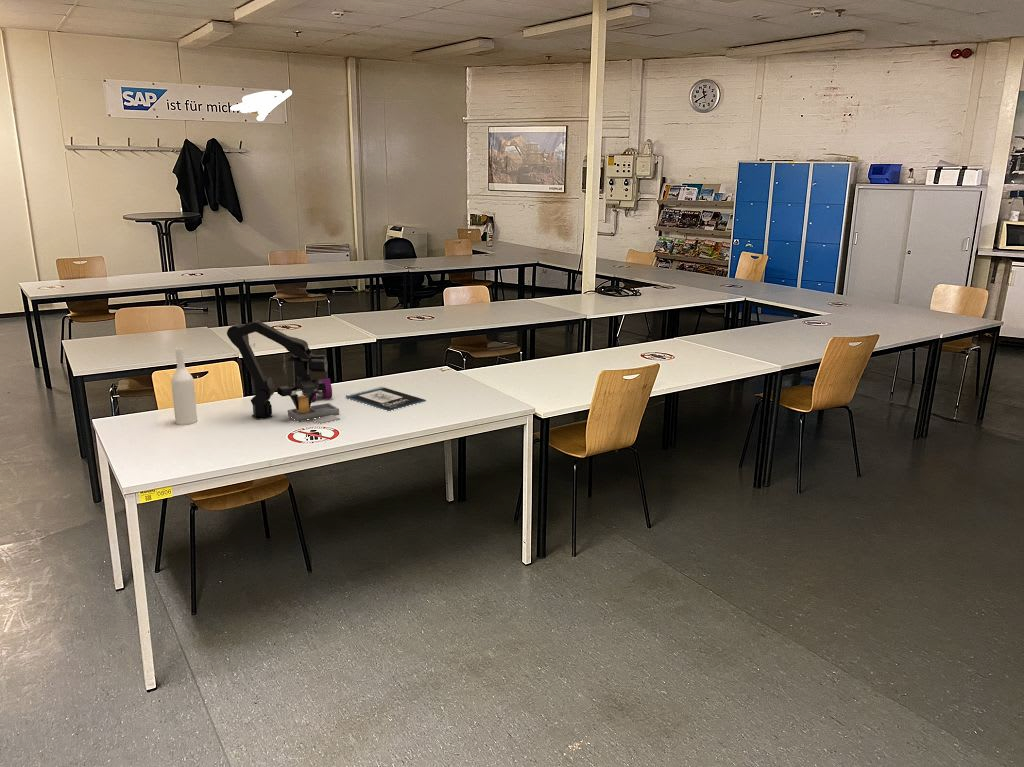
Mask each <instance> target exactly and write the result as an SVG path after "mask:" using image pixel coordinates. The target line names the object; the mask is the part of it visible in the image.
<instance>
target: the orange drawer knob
mask: <svg viewBox="0 0 1024 767" xmlns="http://www.w3.org/2000/svg"><path fill="white" fill-rule="evenodd" d="M298 406H299V409H298V410H297V412H298V413H307V412H310V408H309V400H308V396H307V395H298Z"/></svg>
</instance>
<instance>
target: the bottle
mask: <svg viewBox="0 0 1024 767" xmlns="http://www.w3.org/2000/svg"><path fill="white" fill-rule="evenodd" d="M184 356H185V355H184V349H183V347H175V357H176V369H175V371H174V373H173V375H172V377H171V379H170V380H171V382H170V383H171V392H172V401H173V411H174V421H175V423H176V425H181V426H182V425H183V426H184V425H185V426H186V425H192V424H195V423H197V422H198V413H197V411H198V410H197V404H196V402H197V401H196V392H195V383H194V382H195V381H194V377H193V376H192V374H191V373H190V372H189V371H188V369H187V368H186V365H185V358H184Z"/></svg>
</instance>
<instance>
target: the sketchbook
mask: <svg viewBox="0 0 1024 767" xmlns="http://www.w3.org/2000/svg"><path fill="white" fill-rule="evenodd" d="M346 398H347V399H346ZM345 399H346V400H349V399H350V400H349V401H352V400H353V401H352V402H355V401H356V403H359V402H360V403H359V404H362V403H364V404H363V405H365V404H367V405H366V406H368V405H370V406H369V407H372V406H373V407H372V408H375V407H376V408H375V409H378V408H380V409H379V410H381V409H383V410H382V411H384V410H387V411H386V412H388V411H390V412H392V411H391V410H393V411H395V410H394V409H397V410H399V409H398V408H401V409H403V408H402V407H404V408H407V407H406V406H408V407H410V406H409V405H411V406H414V405H413V404H415V405H418V404H417V403H419V404H422V403H425V401H426V402H427V399H424V398H421V397H418V396H415V395H411V394H408V393H406V392H405V393H403V392H401V391H397V390H394V389H391V388H389V387H388V388H387V387H384V386H378V387H375V388H371V389H367V390H363V391H358V392H354V393H350V394H346V395H345ZM421 402H422V403H421Z"/></svg>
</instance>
